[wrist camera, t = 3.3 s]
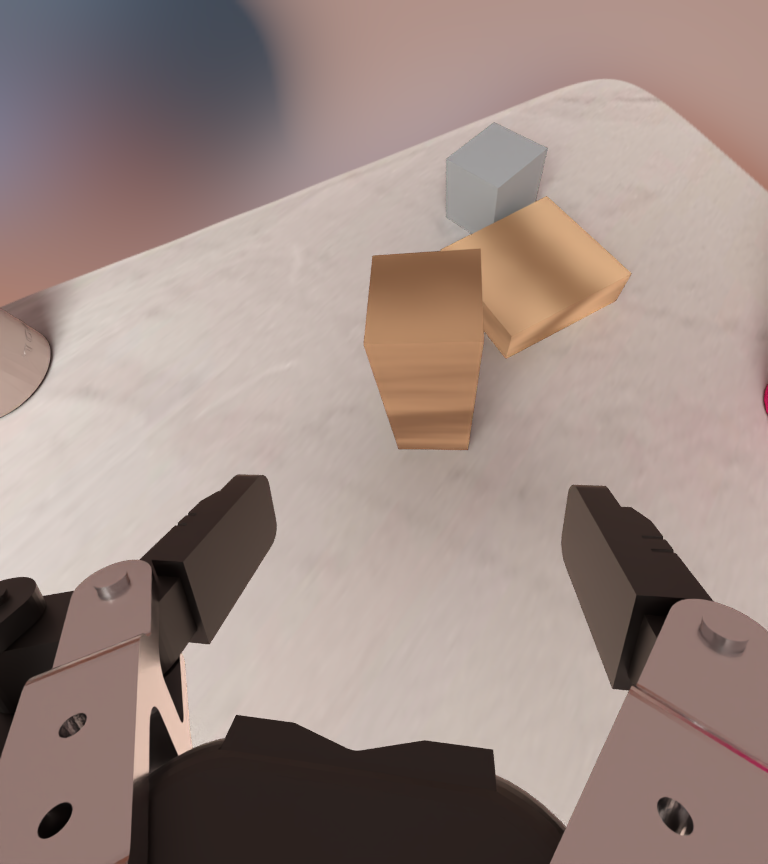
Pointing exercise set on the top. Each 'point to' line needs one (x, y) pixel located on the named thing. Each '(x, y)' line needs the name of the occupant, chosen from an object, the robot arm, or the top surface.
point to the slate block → (492, 177)
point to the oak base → (540, 275)
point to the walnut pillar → (426, 344)
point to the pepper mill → (766, 399)
